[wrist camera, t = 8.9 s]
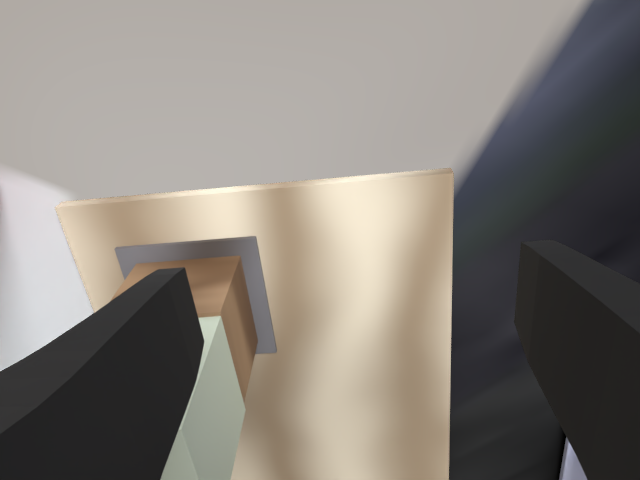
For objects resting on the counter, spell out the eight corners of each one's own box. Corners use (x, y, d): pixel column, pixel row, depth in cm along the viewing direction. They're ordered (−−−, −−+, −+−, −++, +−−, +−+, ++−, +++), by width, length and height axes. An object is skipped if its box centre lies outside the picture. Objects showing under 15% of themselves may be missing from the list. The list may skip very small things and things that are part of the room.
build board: (450, 167, 20) (454, 175, 19) (446, 498, 29) (448, 512, 28) (61, 201, 21) (52, 209, 21) (174, 508, 30) (170, 521, 30)
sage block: (221, 315, 18) (181, 429, 13) (245, 409, 20) (218, 535, 15) (97, 326, 18) (19, 440, 14) (134, 417, 20) (77, 541, 16)
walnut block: (240, 255, 21) (220, 311, 18) (257, 341, 23) (243, 406, 20) (136, 263, 22) (96, 320, 18) (162, 347, 24) (131, 412, 20)
